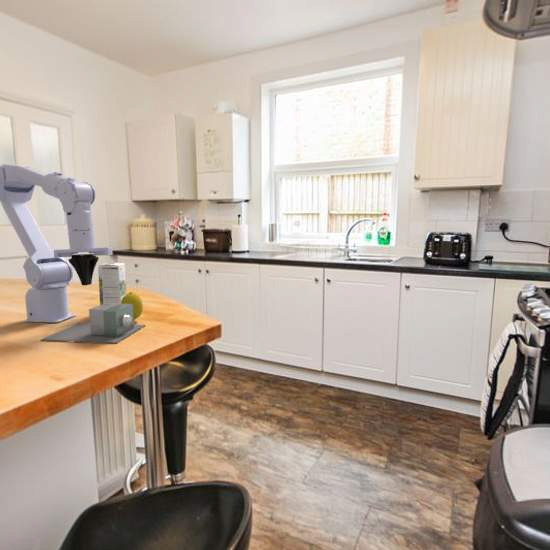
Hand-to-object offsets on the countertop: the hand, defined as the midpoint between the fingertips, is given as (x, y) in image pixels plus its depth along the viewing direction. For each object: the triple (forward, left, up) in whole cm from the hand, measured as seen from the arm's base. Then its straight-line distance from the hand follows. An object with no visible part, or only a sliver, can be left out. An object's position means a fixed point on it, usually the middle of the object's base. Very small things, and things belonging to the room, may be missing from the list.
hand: (86, 284), depth 97 cm
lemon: (+9, +4, -11) cm, 15 cm away
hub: (+8, -7, -10) cm, 15 cm away
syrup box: (0, +12, -11) cm, 16 cm away
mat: (+6, -7, -10) cm, 14 cm away
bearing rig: (+10, -7, -10) cm, 16 cm away
